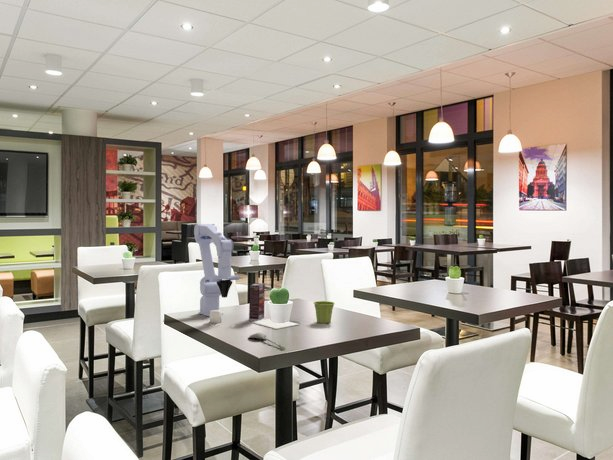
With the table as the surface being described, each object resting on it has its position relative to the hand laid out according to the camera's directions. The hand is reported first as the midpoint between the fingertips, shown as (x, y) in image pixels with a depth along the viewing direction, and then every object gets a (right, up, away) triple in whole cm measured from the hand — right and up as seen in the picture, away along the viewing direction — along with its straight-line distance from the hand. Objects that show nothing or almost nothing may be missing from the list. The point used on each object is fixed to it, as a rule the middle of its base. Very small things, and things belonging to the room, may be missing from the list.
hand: (224, 297), depth 218 cm
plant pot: (+44, -11, 0) cm, 46 cm away
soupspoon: (+22, -12, -38) cm, 46 cm away
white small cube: (-3, -11, -4) cm, 12 cm away
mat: (+23, -11, -5) cm, 26 cm away
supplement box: (+14, -11, +4) cm, 18 cm away
